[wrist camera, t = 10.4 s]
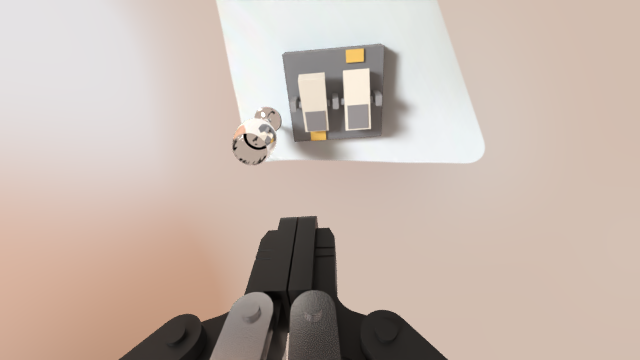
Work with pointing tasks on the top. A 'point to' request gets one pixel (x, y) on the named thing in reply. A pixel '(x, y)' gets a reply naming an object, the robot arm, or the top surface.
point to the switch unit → (335, 87)
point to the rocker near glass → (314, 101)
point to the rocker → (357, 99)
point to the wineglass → (257, 137)
